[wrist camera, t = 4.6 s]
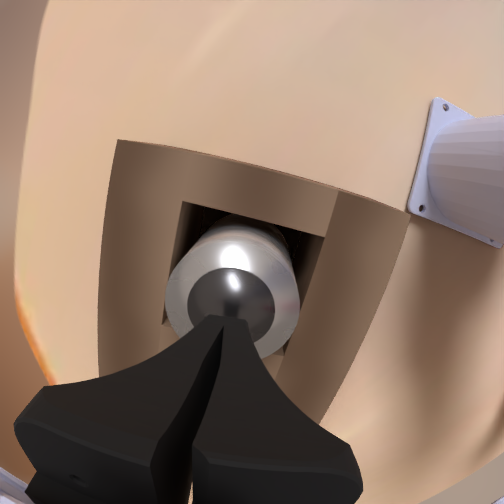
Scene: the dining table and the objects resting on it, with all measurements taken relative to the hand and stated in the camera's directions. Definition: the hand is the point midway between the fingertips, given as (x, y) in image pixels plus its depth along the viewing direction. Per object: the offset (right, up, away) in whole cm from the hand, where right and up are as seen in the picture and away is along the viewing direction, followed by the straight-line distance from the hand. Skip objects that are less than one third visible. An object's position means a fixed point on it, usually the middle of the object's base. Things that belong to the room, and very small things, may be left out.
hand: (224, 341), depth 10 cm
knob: (0, +3, +7) cm, 7 cm away
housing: (-1, -2, +10) cm, 11 cm away
